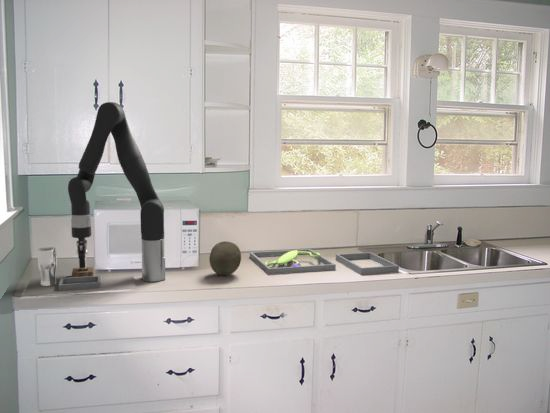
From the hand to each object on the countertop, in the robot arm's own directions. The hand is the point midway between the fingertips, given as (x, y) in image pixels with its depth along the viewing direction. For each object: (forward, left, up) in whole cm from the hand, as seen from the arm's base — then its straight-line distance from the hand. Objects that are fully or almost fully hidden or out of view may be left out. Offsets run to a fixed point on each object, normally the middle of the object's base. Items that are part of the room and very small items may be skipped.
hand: (82, 265), depth 216 cm
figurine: (-94, -5, -6) cm, 95 cm away
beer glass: (+13, +6, -6) cm, 15 cm away
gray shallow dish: (-126, +8, -6) cm, 126 cm away
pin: (0, 0, -5) cm, 5 cm away
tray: (0, +12, -6) cm, 13 cm away
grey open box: (-93, -5, -6) cm, 93 cm away
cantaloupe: (-58, +9, -6) cm, 59 cm away
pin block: (0, 0, -6) cm, 6 cm away
